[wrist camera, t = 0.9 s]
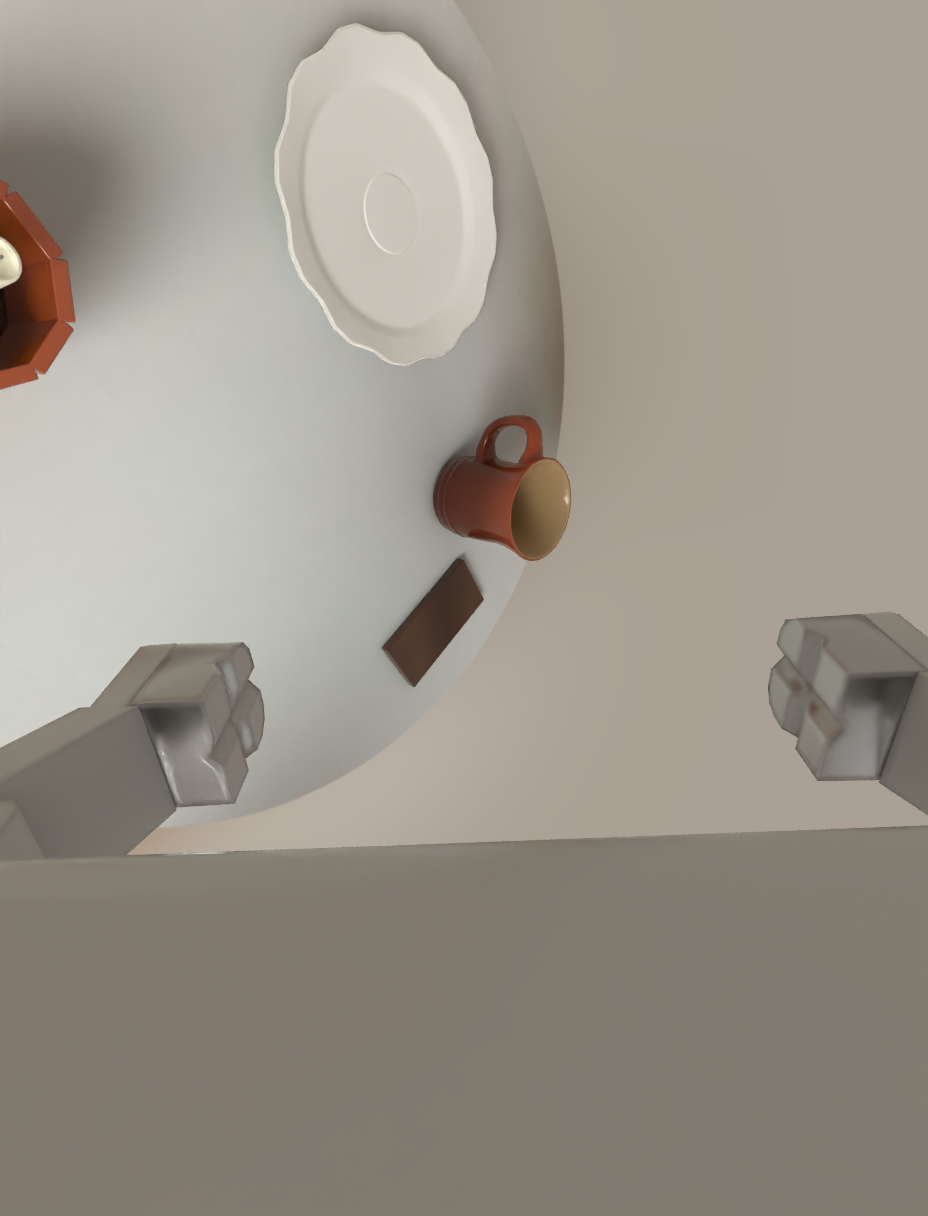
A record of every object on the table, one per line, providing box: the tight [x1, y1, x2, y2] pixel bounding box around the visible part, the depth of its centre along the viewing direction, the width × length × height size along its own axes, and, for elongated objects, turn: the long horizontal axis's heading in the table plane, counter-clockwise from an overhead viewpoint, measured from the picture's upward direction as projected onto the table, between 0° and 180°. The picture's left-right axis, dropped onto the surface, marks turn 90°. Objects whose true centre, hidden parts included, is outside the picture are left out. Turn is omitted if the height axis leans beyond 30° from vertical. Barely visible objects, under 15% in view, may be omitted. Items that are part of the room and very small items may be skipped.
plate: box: [274, 23, 497, 366], centre depth 47 cm, size 21×21×2 cm
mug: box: [433, 415, 571, 561], centre depth 57 cm, size 12×9×10 cm
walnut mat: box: [383, 559, 484, 687], centre depth 63 cm, size 12×6×1 cm, turn 122°
